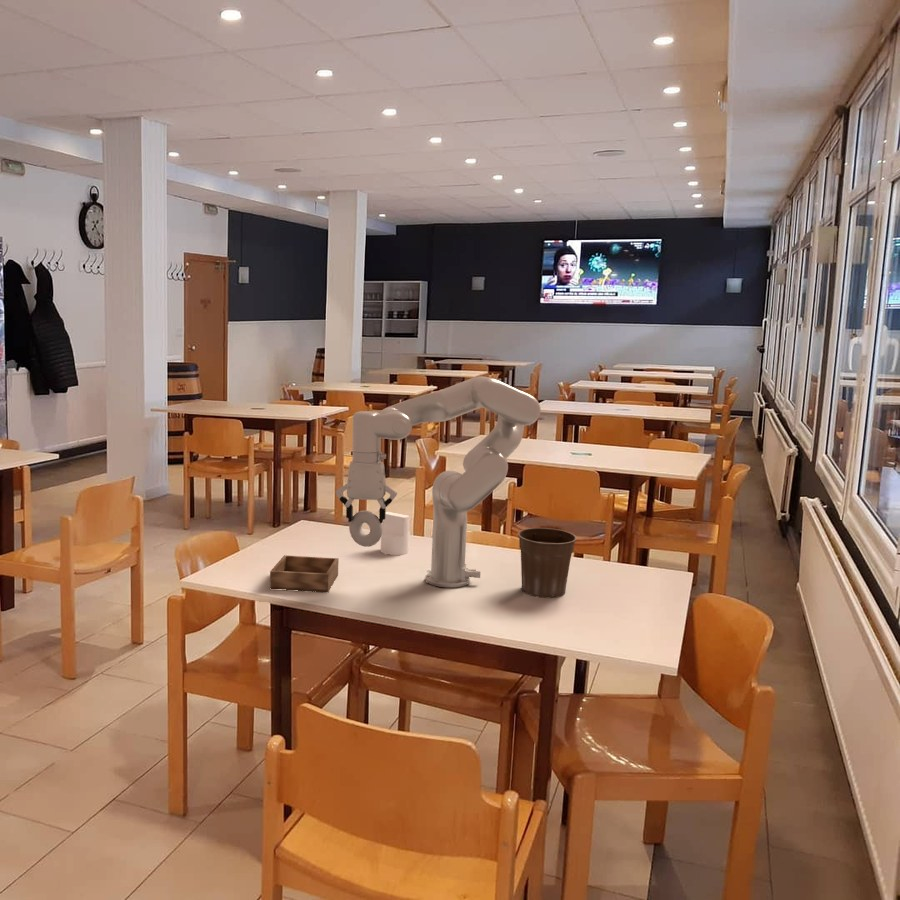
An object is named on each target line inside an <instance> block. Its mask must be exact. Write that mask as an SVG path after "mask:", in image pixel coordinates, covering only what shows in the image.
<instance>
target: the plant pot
mask: <svg viewBox="0 0 900 900" xmlns="http://www.w3.org/2000/svg"><path fill="white" fill-rule="evenodd" d="M517 538H518V539H519V543H518V544H519V549H520V565H521V566H520V567H521V569H520V570H521V572H520V573H521V574H520V575H521V576H520V577H521V590H522V591H523V592H525V593H526V594H528V595H529V594H530V595H531V596H533V597H536V596H539V597H538V598H545V597H551V598H552V597H556V596H559V597H561V595H562V596H564V595H565V593H566V589H567V584H568V583H567V582H568V575H569V571H570V564H571V559H572V554H573V552H574V547H575V543H576V542H577V539H578V537H577V535H575V534H574V533H572V532H569V531H567V530H562V529H556V528H548V527H530V528H524V529H521V530H519V531H518V532H517Z"/></svg>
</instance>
